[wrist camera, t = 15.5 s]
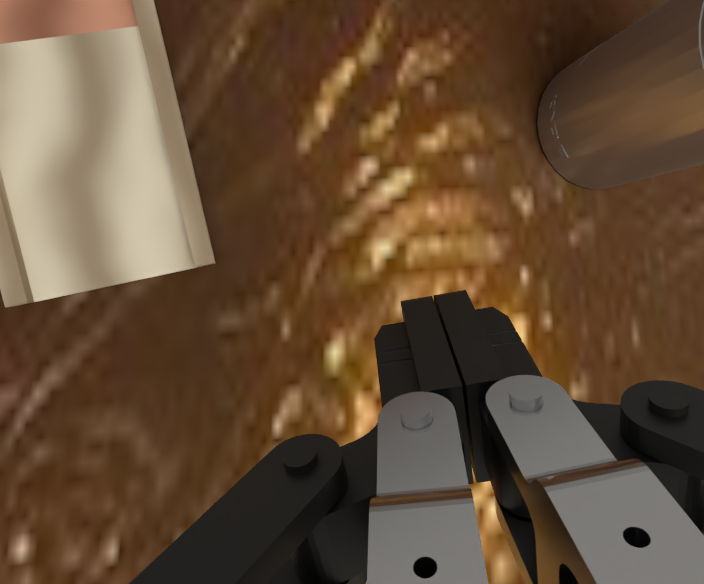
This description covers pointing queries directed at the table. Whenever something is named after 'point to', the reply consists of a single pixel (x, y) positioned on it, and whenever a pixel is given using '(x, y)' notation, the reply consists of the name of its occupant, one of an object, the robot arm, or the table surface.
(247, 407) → the table surface
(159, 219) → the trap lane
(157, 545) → the table surface
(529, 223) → the table surface
